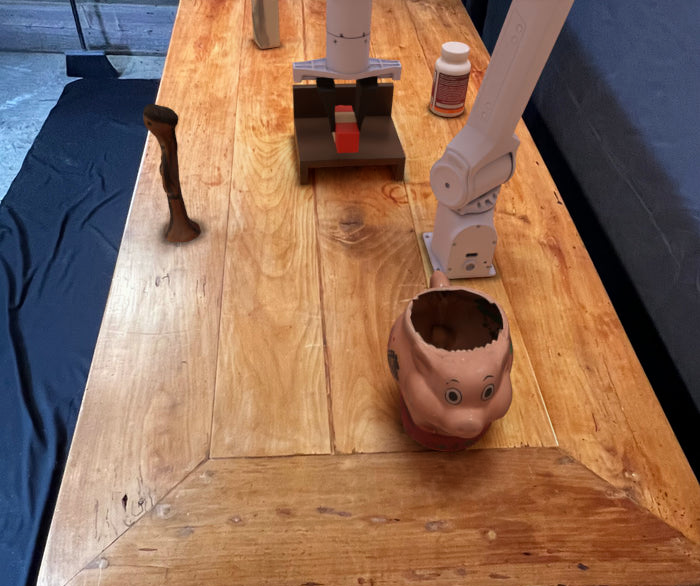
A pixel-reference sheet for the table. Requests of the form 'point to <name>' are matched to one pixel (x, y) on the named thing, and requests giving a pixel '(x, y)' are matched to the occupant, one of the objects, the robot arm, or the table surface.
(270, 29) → the box
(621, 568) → the table surface
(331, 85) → the robot arm
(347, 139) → the red and white block
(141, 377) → the table surface
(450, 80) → the pill bottle
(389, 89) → the shelf
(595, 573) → the table surface
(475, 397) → the decorative planter
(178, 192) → the figurine
